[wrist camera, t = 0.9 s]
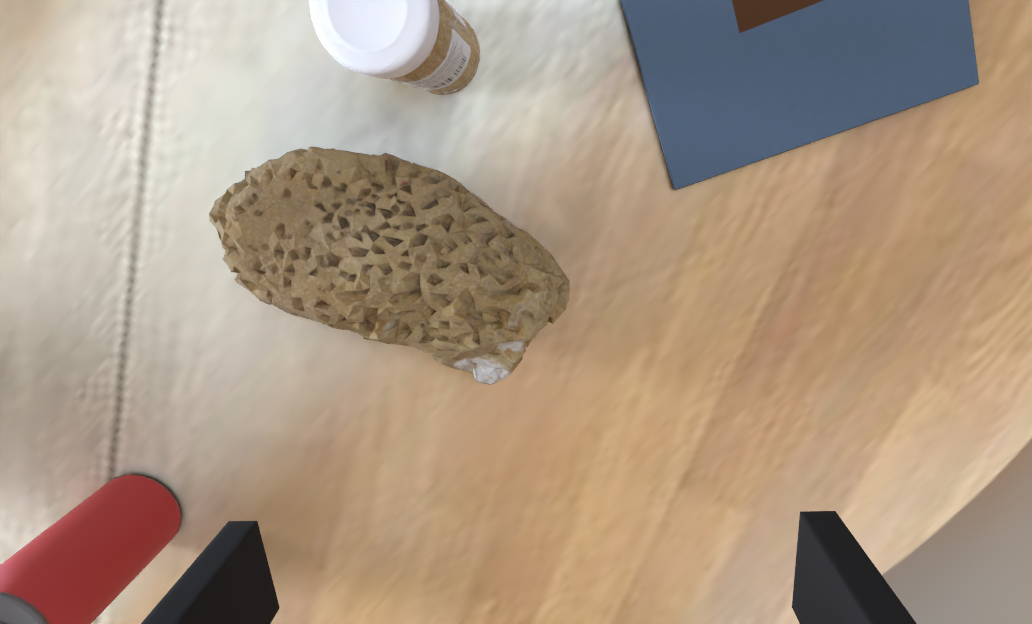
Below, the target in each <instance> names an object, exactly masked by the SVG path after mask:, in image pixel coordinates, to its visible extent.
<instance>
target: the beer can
mask: <svg viewBox="0 0 1032 624" xmlns="http://www.w3.org/2000/svg"><path fill="white" fill-rule="evenodd" d="M180 522H181V515H180V508H179V505H178V503H177V501H176V499H175V497H174V496H173V495H172V494H171V493H170V491H169V490H168V489H167V488H166V487H165V486H163V485H162V484H160V483H159V482H157V481H156V480H153V479H150V478H148V477H145V476H139V475H125V476H121V477H116V478H114V479H113V480H111V481H110V482H108V483H106V484H105V485H104V486H103V487H101V488H100V489H99V490H97V491H96V492H95V493H93V494H92V495H91V496H90V497H88V498H87V499H86V500H84V501H83V502H82V503H80V504H79V505H78V506H77V507H75V508H74V509H73V510H71V511H70V512H69V513H67V514H66V515H65V516H64V517H62V518H61V519H60V520H58V521H57V522H56V523H54V524H53V525H52V526H51V527H49V528H48V529H47V530H45V531H44V532H43V533H41V534H40V535H39V536H38V537H36V538H35V539H34V540H32V541H31V542H30V543H28V544H27V545H26V546H25V547H23V548H22V549H21V550H19V551H18V552H17V553H15V554H14V555H13V556H12V557H10V558H9V559H8V560H6V561H5V562H4V563H2V564H1V565H0V624H91V623H92V622H93V621H94V620H95V619H96V618H97V617H98V616H99V615H100V614H101V613H102V612H103V611H104V609H105V608H106V607H107V606H108V605H109V604H110V603H111V602H112V601H113V600H114V599H115V598H116V597H117V596H118V595H119V594H120V593H121V592H122V591H123V590H124V589H125V588H126V587H127V586H128V585H129V583H130V582H131V581H132V580H133V579H134V578H135V577H136V576H137V575H138V574H139V573H140V572H141V571H142V570H143V569H144V568H145V567H146V566H147V565H148V564H149V563H150V562H151V561H152V560H153V558H154V557H155V556H156V555H157V554H158V553H159V552H160V551H161V550H162V549H163V548H164V547H165V546H166V545H167V544H168V543H169V542H170V541H171V540H172V539H173V537H174V536H175V535H176V533H177V532H178V530H179V526H180Z"/></svg>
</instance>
